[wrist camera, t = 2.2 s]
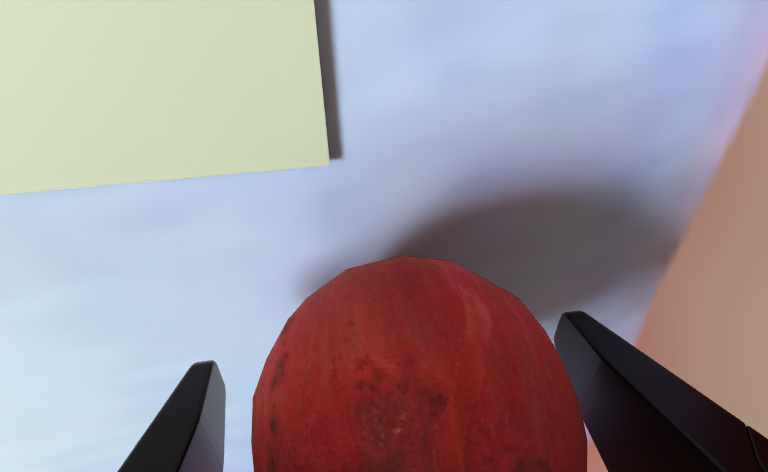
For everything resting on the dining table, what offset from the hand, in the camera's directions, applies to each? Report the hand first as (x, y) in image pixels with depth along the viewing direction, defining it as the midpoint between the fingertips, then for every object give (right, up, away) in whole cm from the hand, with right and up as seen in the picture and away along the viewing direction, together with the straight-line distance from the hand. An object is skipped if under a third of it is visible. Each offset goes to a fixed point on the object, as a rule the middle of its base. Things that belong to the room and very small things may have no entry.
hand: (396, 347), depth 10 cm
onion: (0, +1, +2) cm, 2 cm away
